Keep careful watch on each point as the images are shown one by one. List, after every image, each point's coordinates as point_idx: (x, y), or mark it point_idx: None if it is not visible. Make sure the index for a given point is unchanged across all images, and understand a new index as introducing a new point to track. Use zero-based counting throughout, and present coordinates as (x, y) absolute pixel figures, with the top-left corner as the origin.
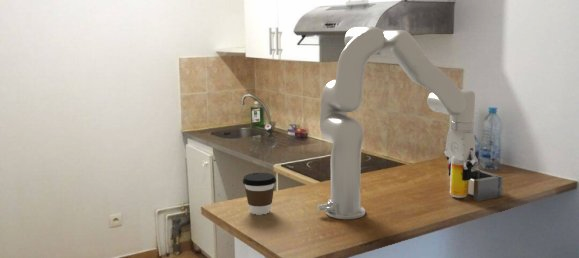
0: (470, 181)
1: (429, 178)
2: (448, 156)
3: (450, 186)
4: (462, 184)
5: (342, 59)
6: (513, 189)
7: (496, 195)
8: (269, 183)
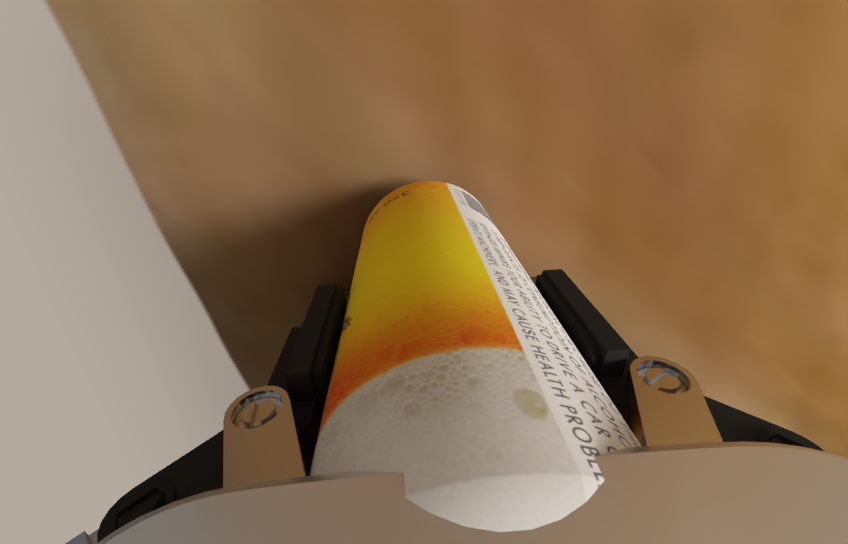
0: None
1: (820, 309)
2: (735, 453)
3: (461, 202)
4: (355, 269)
5: None
6: None
7: None
8: None
